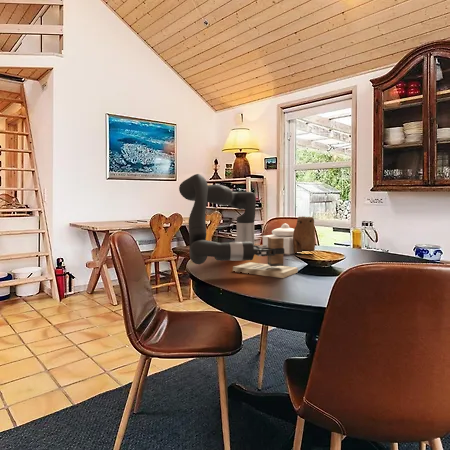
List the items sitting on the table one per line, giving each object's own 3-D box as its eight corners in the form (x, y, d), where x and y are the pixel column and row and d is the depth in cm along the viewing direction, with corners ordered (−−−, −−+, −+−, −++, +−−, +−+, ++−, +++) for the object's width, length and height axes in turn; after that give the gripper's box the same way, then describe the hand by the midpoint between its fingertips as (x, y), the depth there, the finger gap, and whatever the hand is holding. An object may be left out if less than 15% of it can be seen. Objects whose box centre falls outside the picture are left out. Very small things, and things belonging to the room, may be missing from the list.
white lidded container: (289, 254, 204) (289, 225, 203) (261, 251, 216) (261, 223, 215) (306, 251, 217) (306, 223, 216) (279, 248, 229) (279, 221, 228)
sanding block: (271, 266, 152) (271, 238, 151) (267, 264, 157) (267, 237, 156) (283, 265, 153) (283, 238, 152) (279, 263, 158) (279, 236, 157)
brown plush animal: (312, 253, 208) (313, 216, 207) (315, 255, 201) (315, 217, 199) (292, 253, 208) (292, 216, 207) (294, 255, 201) (294, 217, 199)
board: (232, 271, 159) (232, 266, 159) (249, 266, 170) (249, 262, 170) (283, 278, 146) (283, 272, 146) (297, 272, 157) (297, 267, 156)
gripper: (244, 243, 145) (287, 242, 147) (236, 239, 159) (276, 238, 161) (244, 263, 145) (287, 262, 148) (236, 257, 159) (276, 256, 162)
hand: (281, 249), depth 155 cm, fingers closed on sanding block, 5 cm apart
